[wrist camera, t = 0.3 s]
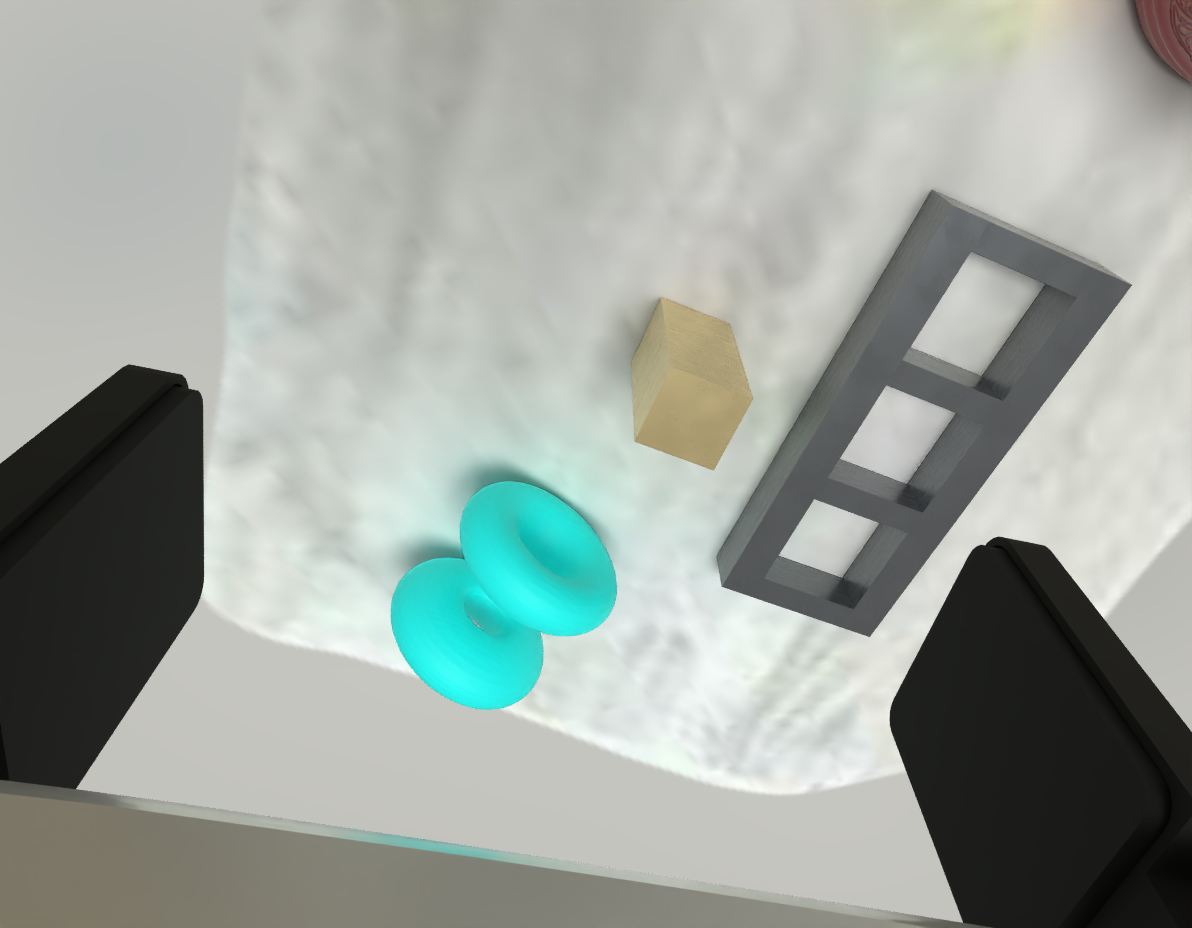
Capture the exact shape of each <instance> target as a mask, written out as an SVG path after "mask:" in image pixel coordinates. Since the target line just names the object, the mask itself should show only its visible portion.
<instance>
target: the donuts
mask: <svg viewBox="0 0 1192 928" xmlns="http://www.w3.org/2000/svg"><path fill="white" fill-rule="evenodd" d="M460 541H461V548H462V551H463V555H464V558H465V560H464V559H459V558H436V559H431V560H428V561H425V562H422V563H420V564H418V565H416V566H415V567H413V568H412V569H411V570H409V571H408V572H407V573H406V574H405V575H404V577H403V578H402V579H401V580H400V582H399V583H398V585H397V587H396V590H395V592H394V594H393V598H392V603H391V624H392V629H393V633H394V636H395V639H396V642H397V644H398V647H399V649H400V651H401V653H402V655H403V656H404V658H405V660H406V661H407V663H408V664H409V665H410V667H411V668H412V669H413V670H414V672H415V673H416V674H417V675H418V676H419V677H420V678H421V679H422V680H423V681H424V682H425V683H426V684H427V685H428V686H429V687H431V688H432V689H433V690H435V691H436V692H438V693H439V694H441V695H442V696H444V697H446V698H448V699H450V700H452V701H454V702H456V703H459V704H461V705H464V706H467V707H471V708H475V709H484V710H490V709H499V708H504V707H507V706H510V705H512V704H514V703H516V702H518V701H520V700H521V699H522V698H524V697H525V696H526V695H527V694H528V693H529V692H530V691H531V690H532V688H533V687H534V685H535V684H536V682H537V680H538V678H539V676H540V673H541V669H542V665H543V642H542V637H541V633H540V632H542V633H546V634H549V635H555V636H576V635H580V634H584V633H587V632H590V631H591V630H593V629H595V628H597V627H598V626H599V625H601V624H602V623H603V622H604V621H605V620H606V619H607V617H608V616H609V614H610V612H611V611H612V609H613V607H614V604H615V600H616V594H617V583H616V574H615V570H614V567H613V564H612V561H611V559H610V556H609V554H608V552H607V550H606V549H605V547H604V545H603V543H602V542H601V540H600V539H599V537H598V536H597V535H596V533H595V532H594V531H593V529H592V528H591V527H590V526H589V525H588V524H587V522H586V521H585V520H584V519H583V518H582V517H581V516H580V515H579V514H578V513H577V512H576V511H574V510H573V509H572V508H571V507H570V506H568V505H567V504H566V503H564V502H563V501H561V500H560V499H558V498H557V497H555V496H554V495H552V494H550V493H548V492H546V491H544V490H542V489H540V488H538V487H536V486H533V485H529V484H526V483H521V482H514V481H503V482H497V483H493V484H490V485H488V486H485V487H484V488H482V489H481V490H479V491H478V492H476V493H475V494H474V495H473V497H472V498H471V499H470V500H469V501H468V503H467V505H466V507H465V509H464V511H463V514H462V518H461V522H460ZM470 618H472V619H473V620H474V621H475V622H476V623H477V624H478V625H479V626H480V627H481V628H482V629H483V630H482V629H481V628H479V627H478V626H477V625H476V624H475V623H474V622H473V621H472V620H471V619H470Z"/></svg>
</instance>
